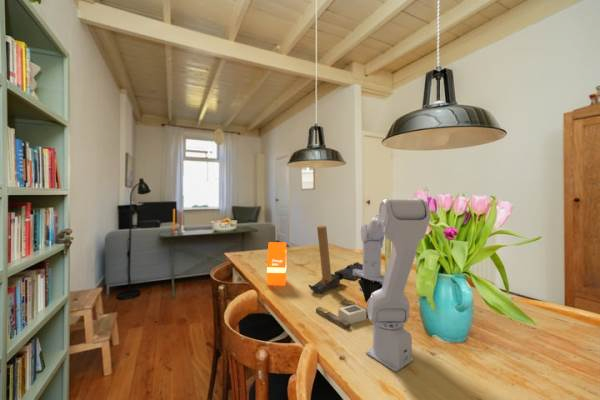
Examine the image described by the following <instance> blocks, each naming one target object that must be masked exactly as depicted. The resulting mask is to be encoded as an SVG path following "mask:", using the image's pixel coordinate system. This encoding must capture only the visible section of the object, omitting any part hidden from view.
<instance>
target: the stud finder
mask: <svg viewBox="0 0 600 400" xmlns="http://www.w3.org/2000/svg"><path fill="white" fill-rule="evenodd" d="M356 304H357V303H355V305H351V306H344V307H340V308H338V311H337V312H338V315H337V316H338V317H340V318H342V319H343V320H345V321H347V322H349V323H350V325H352V324H355V323H357V322H361V321H365V320H367V316H366V310H365V309H364V308H365V307H363V306H361V305H359V304H357V305H356ZM358 305H359V306H358ZM360 306H361V307H360ZM362 307H363V308H362Z"/></svg>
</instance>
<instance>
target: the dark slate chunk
mask: <svg viewBox="0 0 600 400" xmlns="http://www.w3.org/2000/svg"><path fill="white" fill-rule="evenodd" d="M354 269H359V270H363V263H360V262H358V261H356V262H353V264H352V263H351V264H348V265H347V266H345V268H342V269H339V270H336V271H334V273H333V274H334V275H335V273H336V272H340V273H341V274H342V275H343V279H345V280H348V281H352V282H353V281H354V282H355V281H357V280H360V279H361V277H359V276H354V275H353V270H354Z"/></svg>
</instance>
